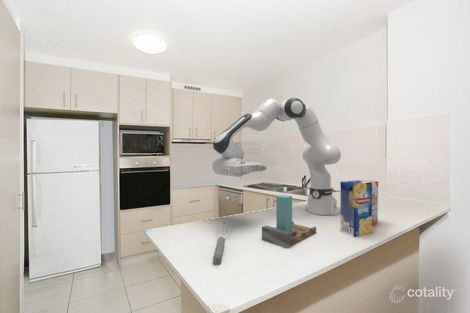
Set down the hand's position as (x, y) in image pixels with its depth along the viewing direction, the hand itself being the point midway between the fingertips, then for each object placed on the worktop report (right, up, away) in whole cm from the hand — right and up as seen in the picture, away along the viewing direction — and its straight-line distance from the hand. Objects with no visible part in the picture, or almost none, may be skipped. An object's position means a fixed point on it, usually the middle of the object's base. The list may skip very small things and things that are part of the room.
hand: (259, 168), depth 100 cm
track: (+13, -28, -6) cm, 31 cm away
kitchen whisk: (-15, -28, -15) cm, 36 cm away
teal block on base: (+9, -26, -9) cm, 29 cm away
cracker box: (+53, -27, +8) cm, 60 cm away
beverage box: (+42, -28, -2) cm, 50 cm away
